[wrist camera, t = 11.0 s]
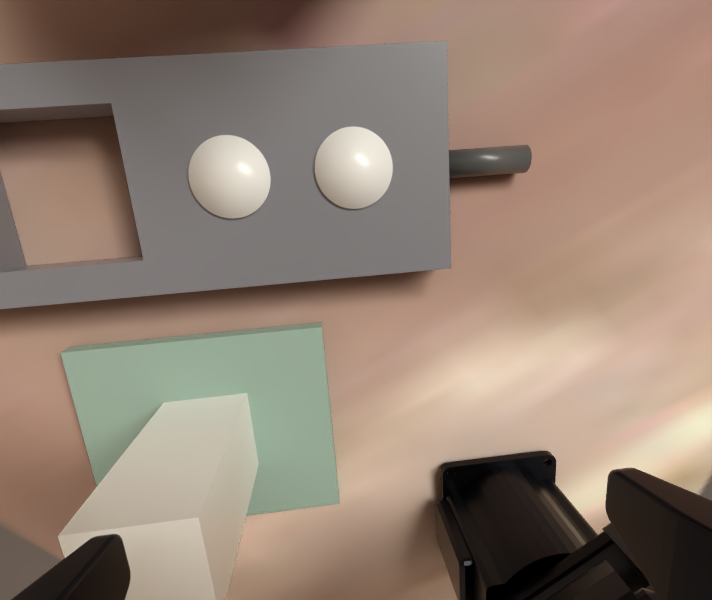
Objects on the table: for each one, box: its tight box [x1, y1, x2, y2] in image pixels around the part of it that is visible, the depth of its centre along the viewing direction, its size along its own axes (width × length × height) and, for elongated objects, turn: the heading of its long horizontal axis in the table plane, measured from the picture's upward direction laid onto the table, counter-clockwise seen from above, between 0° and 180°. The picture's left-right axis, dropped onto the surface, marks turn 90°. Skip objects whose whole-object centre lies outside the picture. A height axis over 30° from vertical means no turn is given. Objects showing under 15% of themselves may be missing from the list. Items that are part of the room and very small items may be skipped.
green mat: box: [61, 322, 339, 516], centre depth 20 cm, size 12×10×1 cm
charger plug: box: [58, 393, 259, 600], centre depth 16 cm, size 4×4×8 cm
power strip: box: [0, 41, 532, 309], centre depth 17 cm, size 28×9×3 cm, turn 94°
